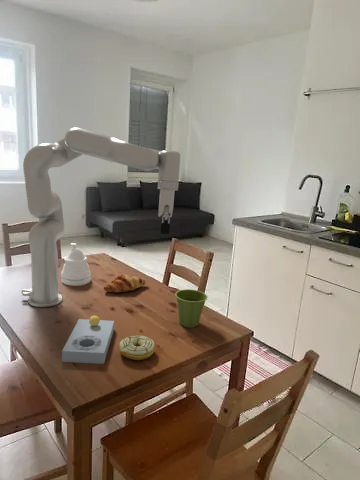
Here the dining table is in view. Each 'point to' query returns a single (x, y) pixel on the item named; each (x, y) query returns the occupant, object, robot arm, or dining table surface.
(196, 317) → the plant pot
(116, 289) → the croissant
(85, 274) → the honey pot
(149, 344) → the decorated donut
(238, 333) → the dining table surface
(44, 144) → the robot arm
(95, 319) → the ball
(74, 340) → the deck
